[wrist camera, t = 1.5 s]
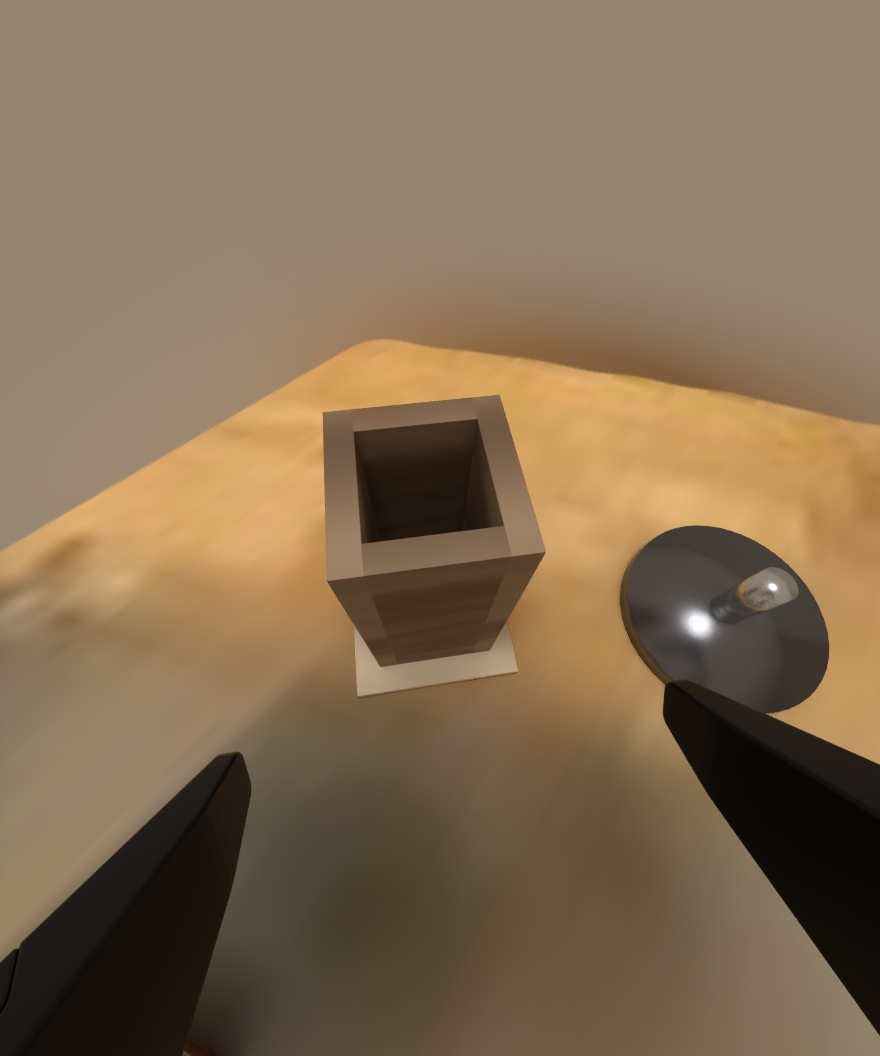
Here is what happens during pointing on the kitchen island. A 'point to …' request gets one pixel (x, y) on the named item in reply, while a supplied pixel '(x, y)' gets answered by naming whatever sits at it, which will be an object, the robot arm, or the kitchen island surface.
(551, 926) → the kitchen island surface
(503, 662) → the cork pad
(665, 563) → the hub
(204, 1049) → the food container
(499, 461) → the collar
